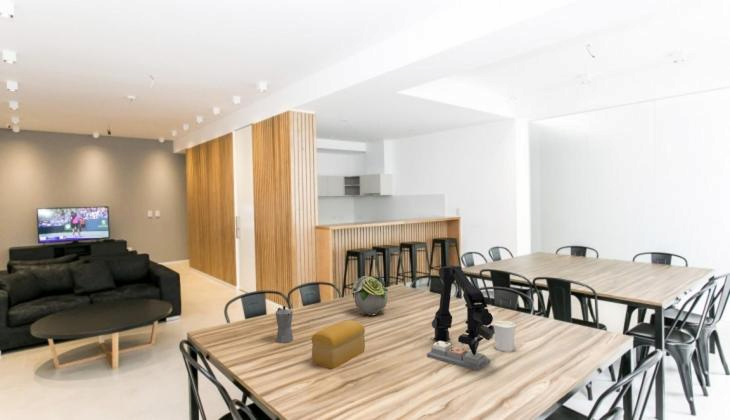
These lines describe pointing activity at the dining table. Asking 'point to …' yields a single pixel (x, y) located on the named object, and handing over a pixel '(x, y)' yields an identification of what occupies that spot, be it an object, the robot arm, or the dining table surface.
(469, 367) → the button board
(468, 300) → the robot arm
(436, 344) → the tile two dots
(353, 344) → the bread
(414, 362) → the dining table surface
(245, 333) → the dining table surface
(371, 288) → the flower arrangement
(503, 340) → the candle holder
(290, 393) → the dining table surface
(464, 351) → the tile three dots
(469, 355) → the tile one dot
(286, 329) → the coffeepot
